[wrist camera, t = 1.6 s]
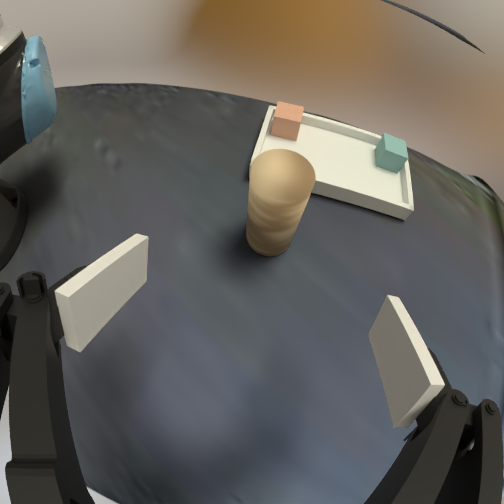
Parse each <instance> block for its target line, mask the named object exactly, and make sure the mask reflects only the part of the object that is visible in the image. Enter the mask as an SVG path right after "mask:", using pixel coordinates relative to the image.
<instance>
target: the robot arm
mask: <svg viewBox="0 0 504 504" xmlns="http://www.w3.org/2000/svg"><path fill="white" fill-rule="evenodd" d="M56 113H57V103H56V96H55V90H54V84H53V79H52V75H51V69H50V65H49V61H48V57H47V53H46V49H45V46H44V44H43V42H42V38H41V37H40V36H34V37H30V38H28V40H26V39H25V37H24V34H23V32H22V30H21V28H18V27H7V26H5V25H4V24H3V21H2V19H1V16H0V164H1V163H2V162H3V161H5V160H6V159H7V158H8V157H10V156H11V155H12V154H13V153H15V152H16V151H17V150H19V149H20V148H21V147H23V146H24V145H25V144H27V143H28V144H29V143H31V141H32V139H33V138H35V137H36V136H37V135H39V134H40V133H41V132H43V131H44V130H46V129H47V128H48V127H49V126H50V125H51V124H52V123H53V122H54V120H55V117H56ZM26 219H27V201H26V198H25V196H24V194H23V193H22V192H21V191H20V190H19V189H18V188H17V187H16V186H15V185H13V184H11V183H9V182H6V181H4V180H2V179H0V270H1V269H2V268H3V267H4V266H5V265H6V263H7V262H8V261H9V259H10V258H11V257H12V255H13V253H14V252H15V250H16V248H17V246H18V244H19V242H20V239H21V237H22V234H23V231H24V228H25V224H26ZM148 238H149V237H148V236H144V235H140V234H135V235H134V236H132V237H131V238H129V239H127V240H126V241H124V242H123V243H121V244H120V245H118V246H117V247H115V248H114V249H112V250H111V251H109V252H108V253H106V254H105V255H103V256H102V257H101V258H99V259H98V260H96V261H95V262H93V263H92V264H90V265H89V266H83V267H80V268H77V269H75V270H74V271H72V272H71V273H69V275H67V276H65V277H64V278H63V279H61V280H60V281H58V282H57V283H55V284H54V285H53V286H51V287H50V288H49V289H47V285H46V280H45V275H44V274H43V273H40V272H35V271H32V272H27V273H24V274H22V275H21V276H20V277H18V279H17V286H18V290H19V295H20V296H17V295H12V292H11V288H10V285H9V284H7V283H0V419H1V414H2V410H3V406H4V402H5V398H6V394H7V390H8V387H9V425H10V439H11V450H12V460H11V461H10V462H7V464H6V467H5V472H6V480H7V486H8V491H9V496H10V500H11V504H95V503H94V501H93V499H92V497H91V496H90V494H89V492H88V490H87V487H86V485H85V482H84V478H83V475H82V472H81V469H80V465H79V461H78V458H77V454H76V450H75V446H74V442H73V437H72V432H71V427H70V422H69V417H68V411H67V405H66V398H65V390H64V382H63V372H62V359H61V345H60V342H59V340H60V339H61V338H62V337H63V336H65V340H66V344H67V346H69V347H71V348H73V349H74V350H76V351H78V352H81V351H82V350H83V349H84V348H85V346H86V345H87V344H88V343H89V342H90V341H91V340H92V339H93V338H94V336H95V335H96V334H97V333H98V332H99V331H100V330H101V329H102V328H103V326H104V325H105V324H106V323H107V322H108V321H109V320H110V319H111V318H112V317H113V316H114V315H115V314H116V312H117V311H118V310H119V309H120V308H121V307H122V306H123V305H124V304H125V303H126V302H127V301H128V300H129V299H130V298H131V297H132V296H133V295H134V293H135V292H136V291H137V290H138V289H139V288H140V287H141V286H142V285H143V284H144V283H145V282H146V281H147V256H148ZM368 337H369V340H370V343H371V346H372V350H373V353H374V356H375V360H376V363H377V366H378V370H379V373H380V377H381V380H382V384H383V387H384V391H385V395H386V399H387V403H388V406H389V410H390V414H391V419H392V423H393V427H394V428H408V427H409V426H410V425H411V424H412V423H413V422H414V421H415V420H416V421H417V425H418V426H417V427H416V428H415V429H414V430H413V431H412V432H411V433H410V434H409V435H408V436H407V437H406V438H405V439H404V441H406V440H407V439H408V438H409V439H408V440H407V442H406V444H405V445H404V447H403V449H402V450H401V452H400V454H399V455H398V457H397V458H396V460H395V462H394V463H393V465H392V466H391V468H390V469H389V471H388V472H387V474H386V475H385V476H384V478H383V479H382V481H381V482H380V483H379V485H378V486H377V487H376V489H375V490H374V491H373V493H372V494H371V495H370V497H369V498H368V499H367V500H366V502H365V503H364V504H501V499H502V487H503V442H502V428H501V418H500V411H499V408H498V407H497V404H496V403H495V402H494V401H491V400H490V399H484V400H483V401H482V402H481V403H480V404H479V405H478V406H475V405H471V404H469V401H468V399H467V397H466V396H465V395H464V394H463V393H462V392H461V391H459V390H456V389H452V388H451V385H450V383H449V381H448V379H447V377H446V375H445V373H444V371H443V370H442V367H441V365H440V364H439V361H438V359H437V357H436V355H435V354H434V353H433V352H432V351H431V350H430V349H429V348H427V347H426V345H425V343H424V341H423V339H422V338H421V336H420V334H419V332H418V330H417V328H416V327H415V325H414V323H413V321H412V319H411V318H410V316H409V314H408V312H407V311H406V309H405V307H404V306H403V304H402V302H401V301H400V299H399V297H394V296H390V295H387V296H386V299H385V301H384V303H383V305H382V307H381V309H380V311H379V314H378V316H377V318H376V320H375V322H374V324H373V326H372V328H371V330H370V332H369V333H368ZM473 443H474V446H473V448H472V449H471V450H470V445H471V444H473Z"/></svg>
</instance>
